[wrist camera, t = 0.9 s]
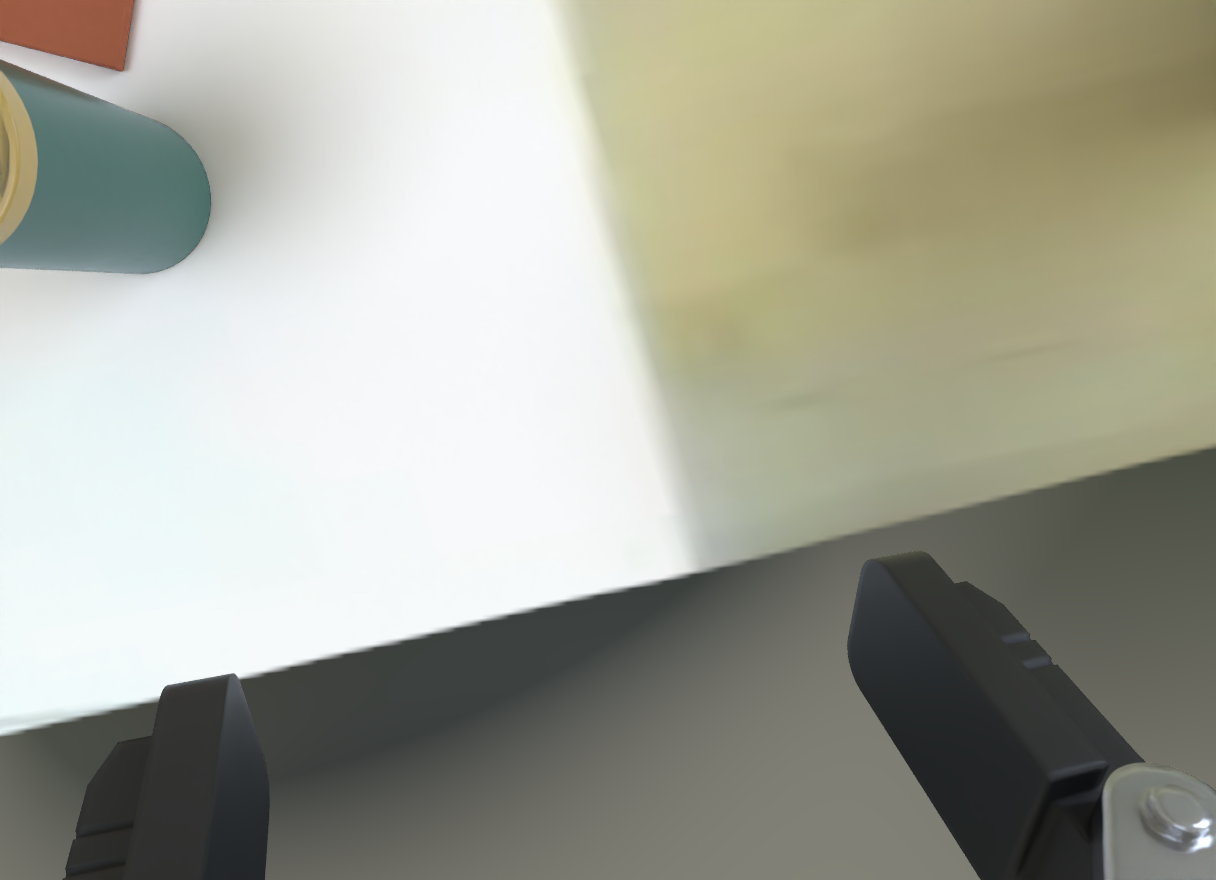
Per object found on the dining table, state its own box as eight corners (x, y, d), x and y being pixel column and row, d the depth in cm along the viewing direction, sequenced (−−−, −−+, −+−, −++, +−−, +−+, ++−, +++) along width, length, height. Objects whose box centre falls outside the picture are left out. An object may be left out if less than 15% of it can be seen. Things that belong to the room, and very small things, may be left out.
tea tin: (66, 94, 31) (-216, -12, 20) (227, 135, 31) (34, 51, 21) (42, 255, 32) (-240, 235, 21) (200, 293, 32) (0, 293, 21)
